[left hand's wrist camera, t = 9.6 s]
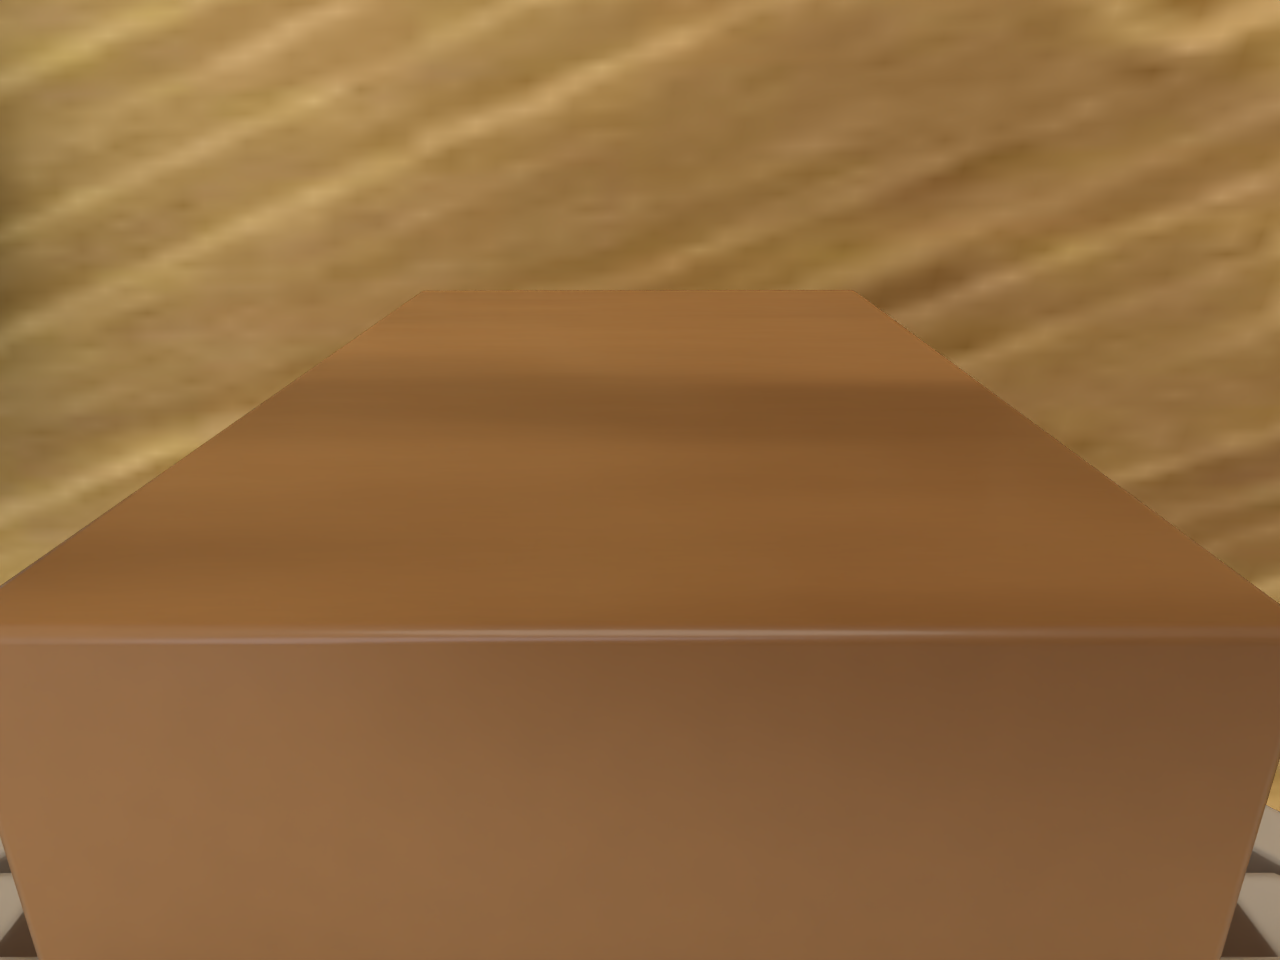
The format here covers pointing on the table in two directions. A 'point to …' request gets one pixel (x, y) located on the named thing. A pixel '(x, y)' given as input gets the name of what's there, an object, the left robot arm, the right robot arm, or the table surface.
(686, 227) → the table surface
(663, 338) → the box
